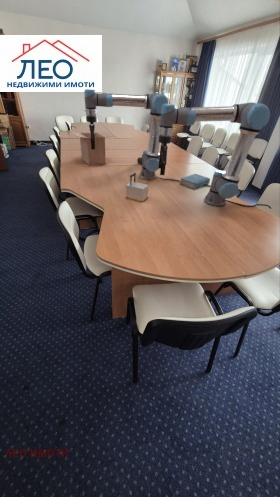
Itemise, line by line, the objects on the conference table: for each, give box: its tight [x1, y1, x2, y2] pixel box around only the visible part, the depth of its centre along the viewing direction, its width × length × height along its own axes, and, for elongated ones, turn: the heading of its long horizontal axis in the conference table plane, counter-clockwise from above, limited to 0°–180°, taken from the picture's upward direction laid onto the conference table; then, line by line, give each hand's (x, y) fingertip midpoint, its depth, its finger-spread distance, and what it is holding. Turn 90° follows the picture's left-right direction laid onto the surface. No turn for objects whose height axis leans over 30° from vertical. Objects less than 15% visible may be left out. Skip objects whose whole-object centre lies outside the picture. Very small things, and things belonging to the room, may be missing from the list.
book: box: [179, 173, 211, 190], centre depth 197 cm, size 23×16×5 cm
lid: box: [125, 172, 149, 190], centre depth 160 cm, size 14×10×8 cm
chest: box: [125, 185, 149, 203], centre depth 165 cm, size 14×10×9 cm
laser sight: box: [136, 154, 143, 165], centre depth 236 cm, size 10×22×10 cm, turn 78°
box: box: [70, 130, 114, 166], centre depth 229 cm, size 44×36×27 cm
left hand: (93, 147), depth 172 cm, fingers open, 13 cm apart
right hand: (161, 171), depth 143 cm, fingers open, 13 cm apart
